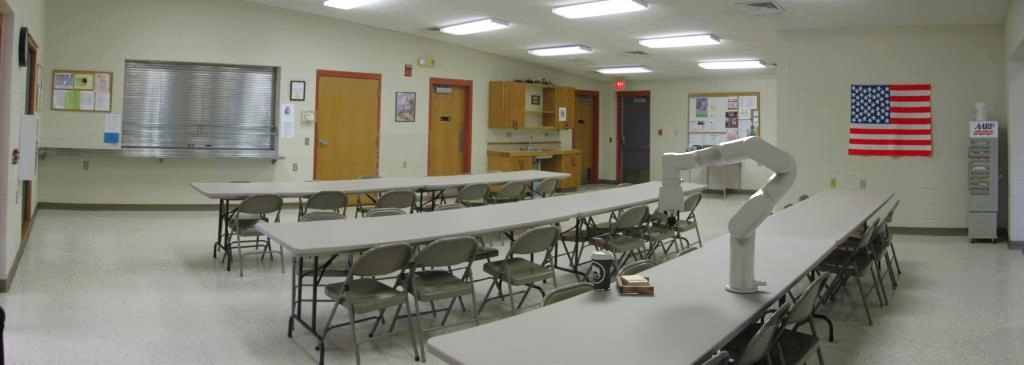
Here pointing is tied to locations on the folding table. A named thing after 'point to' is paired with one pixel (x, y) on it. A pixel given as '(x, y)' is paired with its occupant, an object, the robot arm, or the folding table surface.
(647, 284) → the carton
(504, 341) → the folding table surface
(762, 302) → the folding table surface
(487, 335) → the folding table surface
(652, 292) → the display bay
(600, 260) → the coffee cup
